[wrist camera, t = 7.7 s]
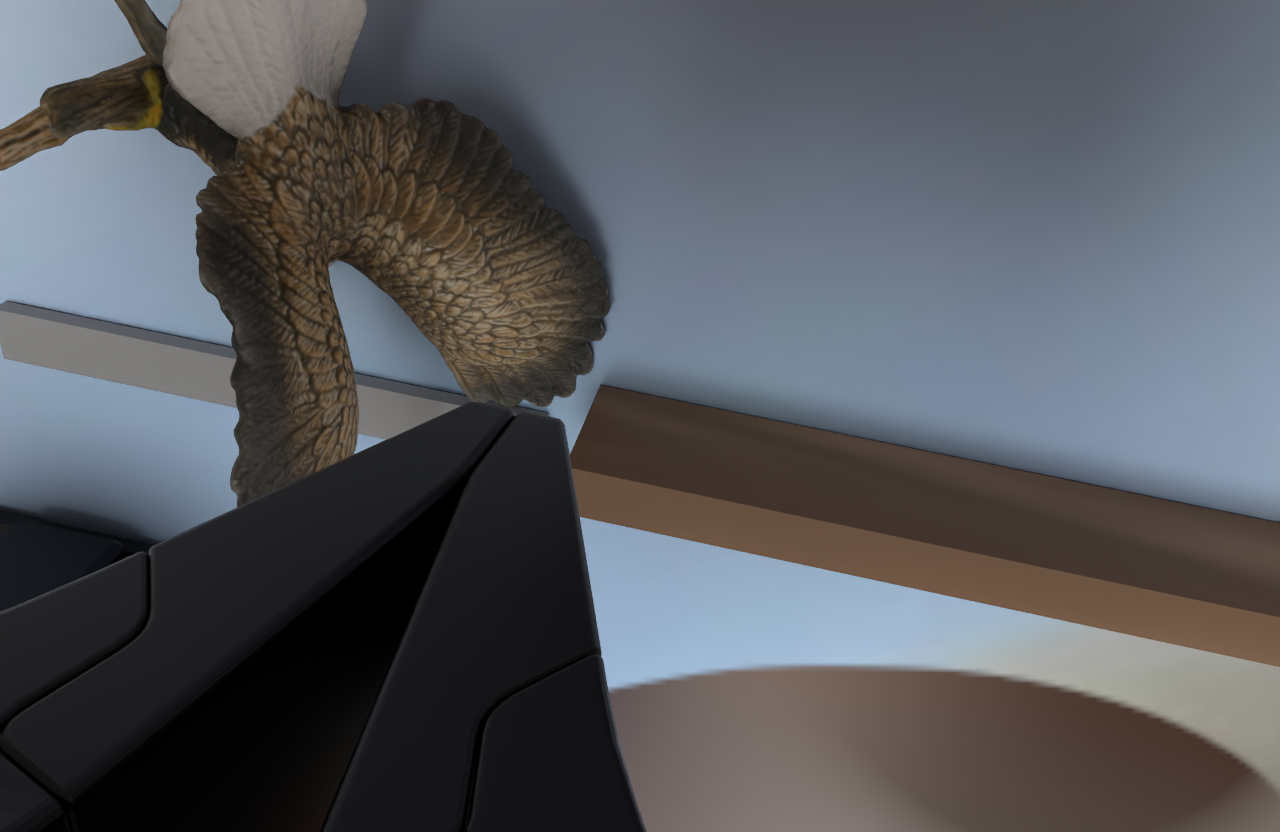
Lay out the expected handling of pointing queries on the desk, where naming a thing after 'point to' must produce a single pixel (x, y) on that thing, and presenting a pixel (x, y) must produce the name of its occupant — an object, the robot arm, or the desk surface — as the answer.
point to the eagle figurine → (337, 221)
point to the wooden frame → (933, 523)
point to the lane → (190, 366)
